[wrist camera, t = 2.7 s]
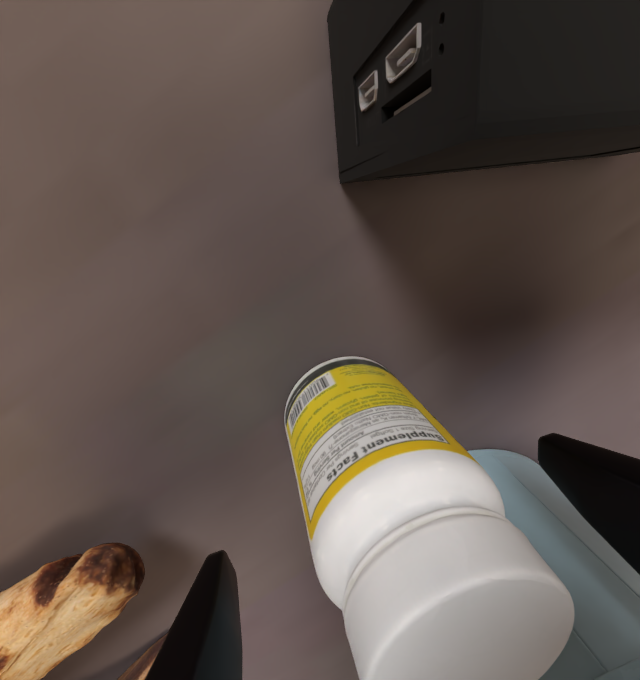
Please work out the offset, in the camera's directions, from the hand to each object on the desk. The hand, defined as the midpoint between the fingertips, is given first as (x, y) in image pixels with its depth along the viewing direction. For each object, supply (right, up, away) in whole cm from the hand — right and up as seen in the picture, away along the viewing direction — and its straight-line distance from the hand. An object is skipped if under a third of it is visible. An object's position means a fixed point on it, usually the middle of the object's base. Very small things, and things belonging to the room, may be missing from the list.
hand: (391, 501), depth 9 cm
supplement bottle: (-1, +2, +5) cm, 5 cm away
